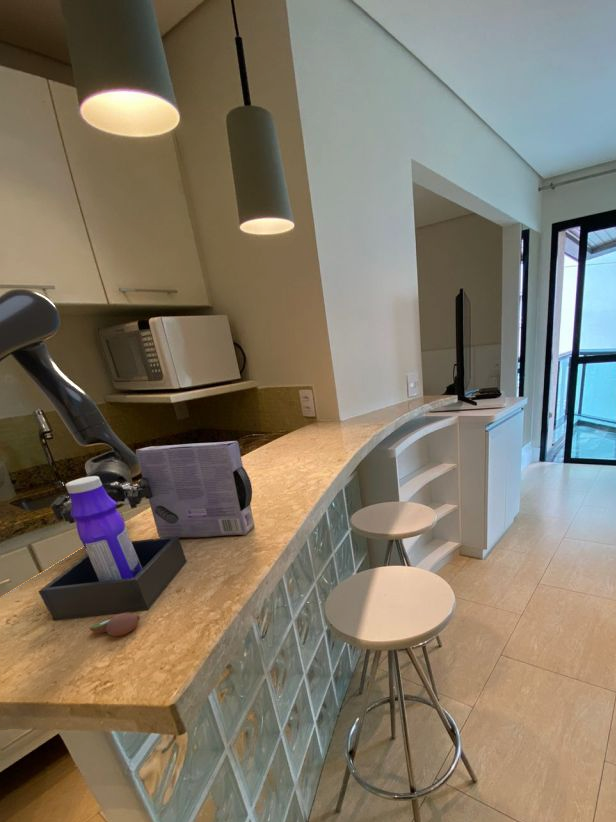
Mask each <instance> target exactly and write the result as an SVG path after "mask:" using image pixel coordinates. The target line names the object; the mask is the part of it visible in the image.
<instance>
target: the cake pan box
mask: <svg viewBox="0 0 616 822" xmlns="http://www.w3.org/2000/svg"><path fill="white" fill-rule="evenodd" d="M240 449H241V448H240V445H239V441H238V440H230V441H218V442H198V443H183V444H172V445H171V444H170V445H156V446H155V445H153V446H147V447H142V448H138V449H136V450H135V454H136V455H137V458H138V462H139V466H140V469H141V473H140V474H141V476H142V477H141V478H147V480H148V483H149V486H150V489H151V491H152V494H153V497H152V498H150V499H148V501H149V506H150V510H151V513H152V518H153V520H154V524H155V527H156V532H157V535H158V538H166V537H174V536H178V537H179V539H181V538H211V537H219V536H237V535H238V536H239V535H241V536H245V535H247V534H248V533H249V532H251V530H252V529H253V528H254V527H255V521H254V516H253V511H252V507H251V506H252V505H251V503H252V500H253V499H252V498H253V497H252V496H253V488H252V482H251V479H250V477H249V475H248V472H247V471H246V469H245V467H244V464H243V460H242V456H241V450H240Z"/></svg>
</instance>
